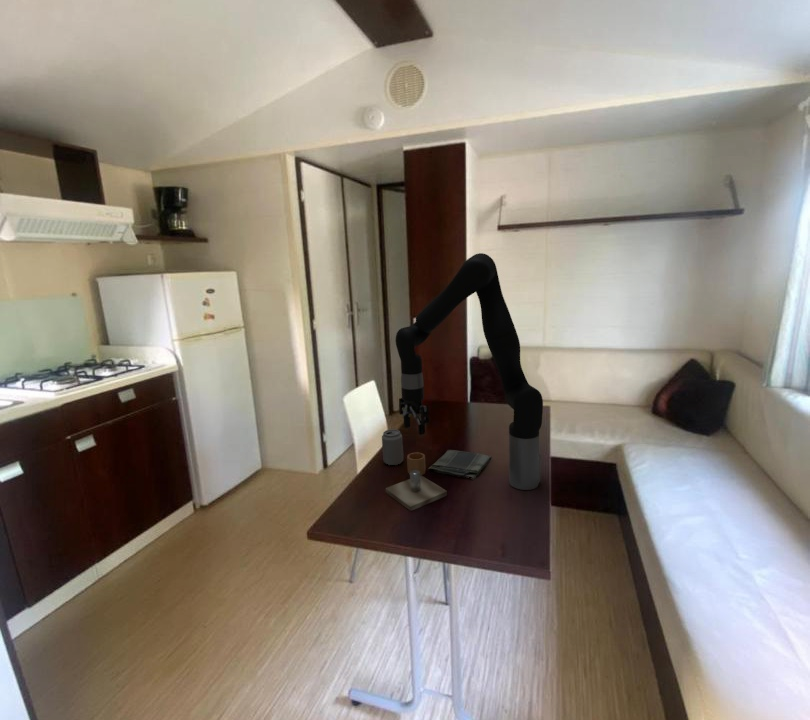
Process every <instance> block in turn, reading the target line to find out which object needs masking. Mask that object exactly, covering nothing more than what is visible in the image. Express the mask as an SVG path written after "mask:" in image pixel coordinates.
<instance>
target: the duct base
mask: <svg viewBox="0 0 810 720" xmlns="http://www.w3.org/2000/svg"><path fill="white" fill-rule="evenodd" d="M420 483H421V490H420V491H419V492H412V491H411V485H410V478H409V479H406V480H403V481H401V482H398V483H396V484H393V485H390V486H387V487H386V488H385V493H386V494H387V495H389V496H390V497H391V498H393V499H394V500H395V501H396V502H398V503H399V504H400V505H402V506H403V507H404V508H406V509H407V510H408V511H409V512H412V511H414V510H417V509H419V508H422V507H424V506H426V505H428V504H430V503H433V502H435V501H439V500H440V499H442V498H445V497H447V496H448V491H447V490H446V489H444V488H443V487H441V486H440V485H438V484H436V483H435V482H433V481H431V479H430V480H429V479H428V478H426V477H425V476H423V475H420Z"/></svg>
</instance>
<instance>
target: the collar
mask: <svg viewBox="0 0 810 720" xmlns="http://www.w3.org/2000/svg"><path fill="white" fill-rule="evenodd" d="M406 464H407V465H406V466H407V474H408V473H409V474H408V475H410V471H412V470H418V471H420V475H421V476H423V475H425V474H426V471H427V470H426V455H425V454H424V453H422V452H418V451H417V452H411V453H408V454H407V456H406Z"/></svg>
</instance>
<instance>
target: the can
mask: <svg viewBox="0 0 810 720" xmlns="http://www.w3.org/2000/svg"><path fill="white" fill-rule="evenodd" d="M381 443H382V444H381V445H382V457H383V458H382V460H383V463H384V464H386V465H387V464H388V465H387V466H390V465H395V466H398V464H399V465H400V464H402V462H403V461H404V446H403V435H402V433H401V431H400V430H398V429H395V428H392V429H391V428H390V429H387V430H384V431H383V432H382V435H381Z"/></svg>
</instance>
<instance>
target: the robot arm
mask: <svg viewBox="0 0 810 720" xmlns="http://www.w3.org/2000/svg"><path fill="white" fill-rule="evenodd" d="M497 269H498V268H497V266H496V262H495V261H494V259H493V258H492V257H491V256H489V255H488V254H486V253H483V252H482V253H480V252H479V253H476V254H474V255H472V256H470V257H469V258H468V259H466V260H465V261H464V262H463V264H462V265H461V267H460V268H459V270H458V271H457V272H456V275H455V276H454V277H453V278H452V280H451V281H450V282H449V283H448V285H447V286H446V287H445V288H444V289H443V290H442V291H441V292H440V293H439V294H438V295H436V297H434V298H433V299H432V300H431V301H430V302H429V303H428V304H427V305H425V307H424V308H423V309H422V310H421V311H420V312H419V313H418V314H417V315H416V317H415V322H414V323H412V324H411V325H409V326H405V327H402V328H400V329H398V331H397V332H396V335H395V346H396V349H397V352H398V356H399V359H400V371H401V372H400V373H401V374H400V375H401V376H400V385H401V386H400V387H401V388H400V389H401V397H400V398H399V399H398V413H399V415H401V416H402V418H403V427H404V428H405V429H408V428H411V416H413V418H414V419H415V420H416V421H417V425H418V426H417V429H418V435H420V436H422V435H425V433H426V424H428V423H430V413H429V406H428V405H423V403H422V400H423V399H424V397H425V391H424V388H425V387H424V375H423V360H422V357H421V355H419V354H417V353H416V351H415V347H416V348H417V347H419V346H420V345H422V344H423V343H425V341H426V340H427V339H428V338H429V336H430V335H431V333H432V332H433V331H434V330H435V329H436V328H437V327H439V325H441V324H442V323H443V322H444V320H446V319H447V317H449V316H450V315H451V313H452V312H453V311H454V310H455V309H456V307H458V306H459V305H460V304H461V303H462V302H464V300H466V299H467V298H468V297H470V296H471V295H474V293H476V295H477V297H478V301H479V305H480V313H481V314H480V316H481V324H482V330H483V334H484V338H485V341H486V343H487V347H488V349H489V352H490V355H491V356H492V359H493V362H494V364H495V366H496V368H497V370H498V371H497V372H498V373H499V377H500V381H501V385H502V388H503V393H504V397H505V401H506V403H507V405H508V406H509V407H510V408H511V409H512V410H513V420H512V422H511V423H510V424H509V427H508V483H509V485H510V486H511V487H513V488H515V489H518V490H522V491H529V490H530V491H531V490H534V489H536V488H538V486H539V484H540V483H541V463H542V462H541V461H542V459H541V458H542V456H541V454H540V429H541V428H542V424H543V412H544V411H543V409H544V408H543V407H544V400H543V396H542V393H541V392H540V391H539V390H538V389H537V388H535V387H534V386H532V385H531V384H529V382H528V380H527V378H526V375H525V373H524V371H523V368H522V365H521V364H522V363H521V344H520V343H521V342H520V339H519V335H518V333H517V329H516V328H515V324H514V322H513V319H512V316H511V314H510V311H509V308H508V306H507V302H506V300H505V297H504V295H503V291H502V287H501V282H500V279H499V274H498V270H497ZM410 415H411V416H410Z"/></svg>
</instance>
